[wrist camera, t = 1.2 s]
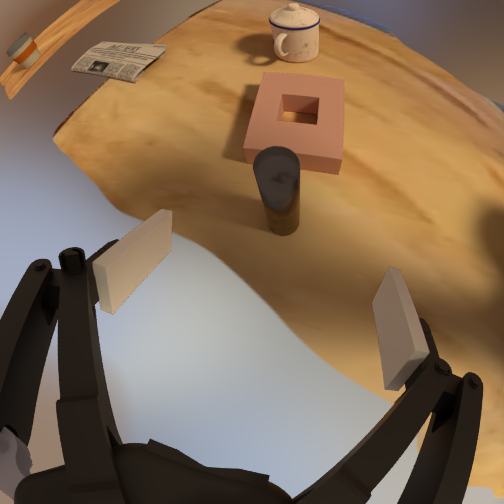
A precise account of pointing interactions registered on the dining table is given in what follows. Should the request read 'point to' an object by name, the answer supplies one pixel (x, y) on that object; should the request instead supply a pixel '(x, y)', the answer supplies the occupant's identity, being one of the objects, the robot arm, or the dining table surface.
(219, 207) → the dining table surface
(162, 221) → the robot arm
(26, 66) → the reusable coffee cup
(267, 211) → the pin
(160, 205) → the dining table surface
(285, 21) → the teacup with lid
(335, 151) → the pink block with hole
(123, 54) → the newspaper
